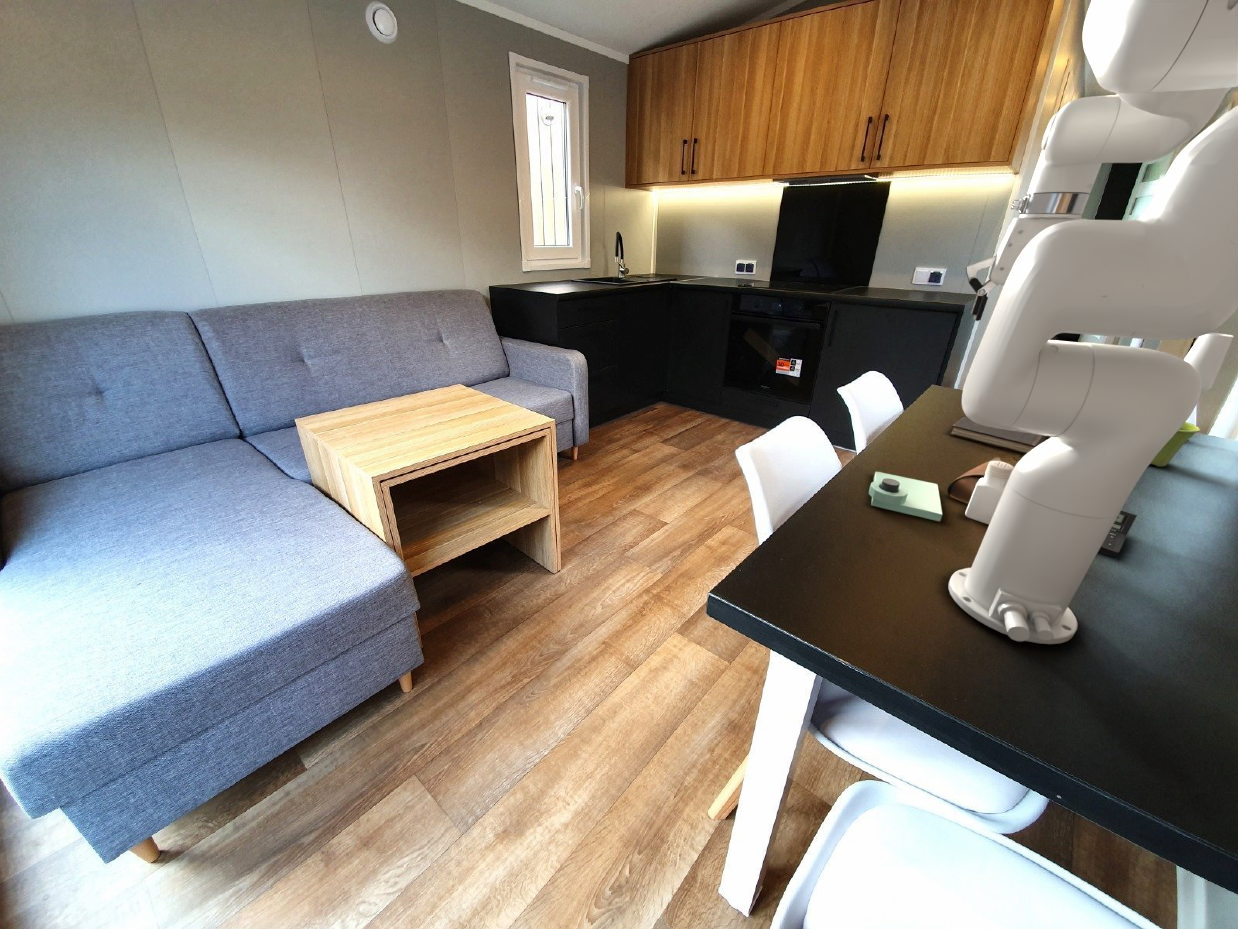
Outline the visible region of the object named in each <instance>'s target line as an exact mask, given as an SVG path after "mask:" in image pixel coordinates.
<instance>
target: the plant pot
mask: <svg viewBox="0 0 1238 929" xmlns="http://www.w3.org/2000/svg"><path fill="white" fill-rule="evenodd" d="M1199 432H1201V428H1200V427H1199V426H1197V425H1195V424H1192V423H1190V422H1187V421H1186V422H1185V423H1184V424H1183V425H1182V427H1181V428H1180V429H1179V430H1178V431H1177V432H1176V433H1175V434H1174V436H1173V437H1172V438H1171V439H1170V440H1169V441H1168V442H1167V443H1166V445H1165V446H1164V447H1163V448H1162V449H1161V450H1160V451H1159V453H1158V454H1157V455H1156V456H1155V457H1154V459H1153V460H1152V461H1151V463H1150V464H1149V465H1154V466H1156V467H1166V466H1167V465H1168V464H1169V463H1170V462H1171V460H1172V459H1173V458H1174V456H1176V454H1177V453H1178V452H1179V450H1180V449H1181V448H1182V447H1183V446H1184V445H1185V443H1186V442H1187V441H1188V440H1190V439H1191V438H1193V436H1194V435H1195V434H1196V433H1197V434H1198V433H1199Z"/></svg>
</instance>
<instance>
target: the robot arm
mask: <svg viewBox="0 0 1238 929" xmlns="http://www.w3.org/2000/svg"><path fill="white" fill-rule="evenodd" d="M1082 46H1083V52H1084V54H1085V56H1086V59H1087V61H1088V64H1089V66H1090V67H1091V70H1092V72H1093V74H1094V77H1095V80H1096V82H1097V84H1098V85H1099V86H1100V88H1102V89H1104V90H1105V91H1108V92H1111V93H1115V95H1096V96H1093V95H1092V96H1085V97H1079V98H1076V99H1072V100H1071V101H1069V102H1067V103H1066V104H1064V105H1063V106H1062V107H1061V108H1060V109H1059V110H1058V112H1056V113H1055V114H1053V115H1052V117H1051V118H1050V119H1049V121H1048V123H1047V126H1046V129H1045V131H1044V133H1043V136H1042V141H1041V145H1040V147H1041V152H1040V154H1039V155H1040V156H1039V158H1038V161H1037V164H1036V166H1035V170H1034V172H1033V175H1032V178H1031V181H1030V184H1029V186H1028V187H1029V188H1028V191H1027V193H1026V195H1025V196H1024V197H1023V198H1020V199H1014V200H1013V201H1012V204H1011V207H1010V210H1016V211H1018V212H1019V217H1013V219H1012V221H1011V223H1010V224H1009V226H1008V229H1007V230H1006V232H1005V234H1004V236H1003V238H1002V240H1001V243H1000V245H999V248H998V249H997V252H996V255H994V256H992V257H989V258H986V259H984V260H981V261H978V262H975V263H972V264H969V265H967V266H966V267H965V272H966V277H967V281H968V284H969V285H970V287H971V288H972V290H973V291H974V292H975V294H976V296H975V300H974V302H973V305H972V309H971V312H970V315H971V316H973V321H975V322H979V321H982V317H983V314H984V312H985V308H986V305H987V303H988V300H989V297H988V293H990V292H991V291H992V290H994V289H995V288H996V287H997V286H999V285H1000V286H1003V287H1002V289H1001V292H1000V295H999V297H998V300H997V302H996V304H995V306H994V310H993V312H992V314H991V317H990V319H989V322H988V324H987V326H986V329H985V331H984V334H983V336H982V338H981V340H980V343H979V345H978V348H977V351H976V353H975V355H974V357H973V359H972V362H971V365H970V367H969V370H968V373H967V375H966V378H965V381H964V385H963V389H962V392H961V393H962V394H961V408H962V411H963V413H964V416H965V415H966V416H967V417H968V418H969V419H970V420H972V421H973V422H975V423H978V424H980V425H984V426H989V427H993V428H999V429H1005V430H1012V431H1019V432H1025V433H1032V434H1039V435H1045V436H1047V437H1048V439H1047V438H1046V439H1045V441H1044V442H1043V443H1041V444H1039V445H1038V446H1036V447H1035V448H1034V449H1032V450H1031V451H1029V452H1028V453H1027V454H1023V456H1022V457H1021V458H1020V460H1018V461H1017V463H1016V464H1015V465H1014V466H1013V467H1014V469H1013V471H1012V472H1011V475H1010V477H1009V479H1008V482H1007V484H1006V486H1005V489H1004V491H1003V493H1002V496H1001V498H1000V501H999V503H998V505H997V508H996V510H995V512H994V515H993V517H992V520H991V522H990V524H988V527H987V529H986V532H985V534H984V536H983V538H982V541H981V543H980V545H979V548H978V551H977V553H976V555H975V557H974V560H973V562H972V565H971V567H965V568H962V569H958V570H956V571H955V572H954V573H953V574H951V576H950V578H949V581H948V584H947V585H948V588H947V589H948V591H949V595H950V596H951V598H952V599H953V601H954V602H955V603H956V604H957V606H959V607H960V608H961V609H962V610H963V611H964V612H965V613H966V614H968V615H969V616H970V617H972V618H973V619H975V620H976V621H978V622H979V623H980V624H983V625H985V626H987V627H988V628H990V629H992V630H994V631H996V632H998V633H1001V634H1003V635H1006V636H1007V637H1009V638H1010V639H1011V640H1013V641H1016V642H1029V643H1035V644H1039V645H1040V644H1043V645H1044V644H1045V645H1056V644H1057V645H1058V644H1062V643H1066V642H1069V641H1070V640H1071V639H1072V638H1073V637H1074V635H1075V633H1076V632H1077V630H1078V627H1079V626H1078V621H1077V617H1076V616H1075V615H1074V612H1073V611H1072V610H1071V609H1070V608H1069V606H1070V604H1071V602H1072V600H1073V598H1074V596H1075V595H1076V593H1077V591H1078V589H1079V588H1080V585H1081V584H1082V582H1083V580H1084V578H1085V577H1086V575H1087V573H1088V571H1089V569H1090V567H1091V566H1092V564H1093V562H1094V561H1095V558H1096V556H1097V555H1098V554H1099V552H1098V551H1099V549H1100V547H1101V545H1102V544H1103V542H1104V540H1105V538H1106V536H1107V535H1108V533H1109V531H1110V529H1111V527H1112V525H1113V524H1114V522H1115V520H1116V518H1117V516H1118V515H1119V513H1120V511H1123V510H1122V509H1123V508H1124V506H1125V504H1126V503H1127V501H1128V499H1129V498H1130V496H1131V494H1132V492H1133V491H1134V488H1135V487H1136V485H1137V483H1138V482H1139V480H1140V479H1141V477H1142V476H1143V474H1144V473H1145V471H1146V469H1147V468H1148V467H1149V466H1150V465H1151V464H1150V463H1151V461H1152V460H1153V459H1154V457H1155V456H1156V455H1157V454H1158V453H1159V451H1160V450H1161V449H1162V448H1163V447H1164V446H1165V445H1166V443H1167V442H1168V441H1169V440H1170V439H1171V438H1172V437H1173V436H1174V434H1175V433H1176V432H1177V431H1178V430H1179V429H1180V428H1181V427H1182V425H1183V424H1184V423H1185V422H1187V420H1188V419H1189V418H1190V416H1191V415H1192V413H1193V412H1194V410H1195V408H1196V406H1197V405H1198V402H1199V401H1200V396H1201V394H1202V393H1201V381H1200V378H1199V375H1198V373H1197V371H1196V370H1195V369H1194V368H1193V367H1192V366H1191V365H1190V364H1189V363H1188V362H1186V361H1185V360H1184V359H1183V358H1181V357H1179V356H1177V355H1174V354H1171V353H1169V352H1164V351H1161V350H1157V349H1152V348H1145V347H1140V346H1139V347H1138V346H1130V345H1129V346H1128V345H1117V344H1108V343H1098V342H1097V343H1096V342H1087V341H1083V342H1077V341H1066V340H1056V339H1055V340H1054V339H1053V338H1054V337H1055V336H1057V335H1060V334H1077V335H1089V336H1098V337H1099V336H1101V337H1114V338H1125V339H1126V338H1127V339H1138V340H1154V341H1155V340H1156V341H1181V340H1191V339H1196V338H1199V337H1200V336H1203V335H1205V334H1208V333H1213V331H1215V330H1216V329H1217V328H1219V327H1220V326H1222V325H1223V324H1224V323H1225V322H1226V321H1227V320H1228V319H1230V317H1232V315H1233V314H1234V313H1235V312H1236V311H1237V310H1238V104H1237V105H1236V106H1234V107H1233V108H1231V109H1230V110H1229V111H1227V112H1226V113H1224V114H1223V115H1222V116H1220V117H1219V118H1218V119H1217V120H1215V121H1214V122H1213V123H1211V124H1210V125H1209V126H1207V124H1208V123H1209V121H1210V120H1211V119H1212V117H1213V116H1214V114H1215V113H1216V112H1217V110H1218V109H1219V107H1220V106H1221V104H1222V102H1223V100H1224V98H1225V97H1226V94H1227V93H1228V89H1231V88H1238V0H1091V1H1090V3H1089V6H1088V9H1087V11H1086V15H1085V19H1084V22H1083V28H1082ZM1205 126H1207V127H1206V128H1205ZM1204 128H1205V129H1204ZM1203 129H1204V130H1203ZM1202 130H1203V131H1202ZM1198 133H1199V134H1198ZM1192 138H1193V139H1192ZM1190 140H1191V141H1190ZM1189 141H1190V142H1189ZM1187 142H1189V143H1188V144H1187V145H1185V146H1184V147H1183V148H1182V149H1181V150H1180V152H1179V153H1178V154H1177V155H1176V157H1175V158H1174V159H1173V161H1172V163H1171V165H1170V167H1169V168H1168V170H1167V172H1166V173H1165V176H1164V178H1163V180H1162V182H1161V183H1160V185H1159V187H1158V189H1157V191H1156V193H1155V195H1154V197H1153V199H1152V200H1151V202H1150V204H1149V205H1148V207H1147V208H1146V209H1145V210H1144V212H1143V213H1142V214H1141V215H1140V216H1138V217H1137V218H1135V219H1130V220H1129V219H1128V220H1125V219H1088V218H1082V215H1083V213H1084V210H1085V208H1086V206H1087V203H1088V201H1089V198H1090V194H1091V192H1092V190H1093V187H1094V185H1095V183H1096V180H1097V177H1098V174H1099V172H1100V170H1101V167H1102V164H1137V163H1138V164H1139V163H1147V162H1148V163H1149V162H1152V161H1155V160H1159V159H1161V158H1164V157H1166V156H1167V155H1170V154H1171V153H1173V152H1174V151H1176V150H1177V149H1179V148H1180V147H1181V146H1183V145H1184V144H1186V143H1187ZM990 267H991V268H990ZM987 268H990V271H989V274H988V280H987V281H985V282H984V283H982V282H981V281H980V280H979V279H978V278H979V277H978V272H979V271H981V270H984V269H987Z"/></svg>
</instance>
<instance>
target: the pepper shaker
mask: <svg viewBox="0 0 1238 929" xmlns="http://www.w3.org/2000/svg"><path fill="white" fill-rule="evenodd" d="M1014 467H1015V466H1014V465H1012V464H1011V463H1009V462H1004V461H1002V462H1000V461H991V462H989V464H988V467H987V469H986V472H985V476H984V478H981V479H980V480H979V481H978V482H977V484H976V486H975V489H974V491H973V494H972V497H971V499H970V502H969V504H967V507H966V510H965V513H964V514H965V517H966V518H968V519H972V520H974V521H977V522H981V523H982V524H986V525H989V524H990V522H991V520H992V517H993V515H994V512H995V510H996V508H997V505H998V503H999V501H1000V498H1001V496H1002V493H1003V491H1004V489H1005V486H1006V484H1007V482H1008V479H1009V477H1010V475H1011V472H1012V471H1013V469H1014Z"/></svg>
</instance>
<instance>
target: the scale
mask: <svg viewBox="0 0 1238 929" xmlns="http://www.w3.org/2000/svg"><path fill="white" fill-rule="evenodd" d="M885 478H889V479H894V480H896V481H898V482H899V483H900V486H899V489H898V492H897V493H891V492H886V491H884V490H882V489H881V488H880V487H881V483H882V480H883V479H885ZM868 495H869V496H870V497H871V504H870V506H872V507H875V508H880V509H884V510H890V511H893V512H898V513H901V514H906V515H910V516H915V517H918V518H923V519H927V520H931V521H935V522H941V520H942V518H943V509H942V503H941V497H940V491H939V486H938V483H934V482H930V481H929V482H928V481H925V480H919V479H915V478H909V477H905V476H900V475H897V474H890V473H885V472H882V471H876V470H875V472H874V476H873V481H872V482H871V483H870V486H869V490H868Z"/></svg>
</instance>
